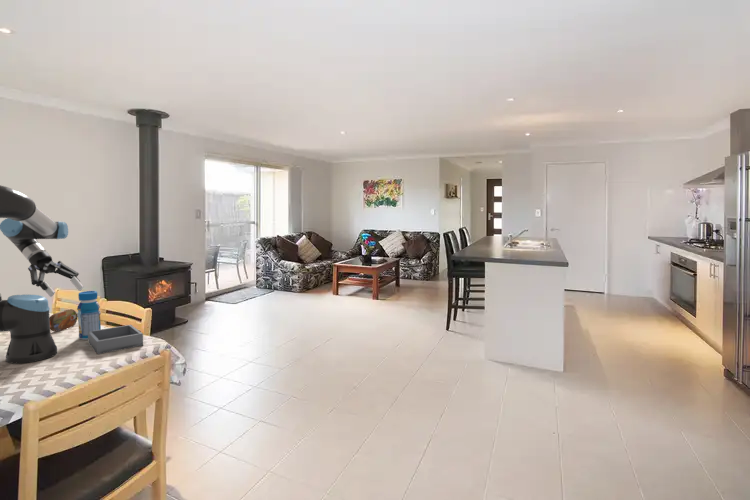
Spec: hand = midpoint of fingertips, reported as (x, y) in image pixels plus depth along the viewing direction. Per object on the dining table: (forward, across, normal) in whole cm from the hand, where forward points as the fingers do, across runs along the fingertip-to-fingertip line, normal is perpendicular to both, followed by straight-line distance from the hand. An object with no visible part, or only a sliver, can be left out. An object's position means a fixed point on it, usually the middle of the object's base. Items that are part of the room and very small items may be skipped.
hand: (67, 291), depth 184 cm
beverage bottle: (+22, 0, -6) cm, 23 cm away
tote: (+34, +5, +6) cm, 35 cm away
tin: (+5, -8, -23) cm, 25 cm away
